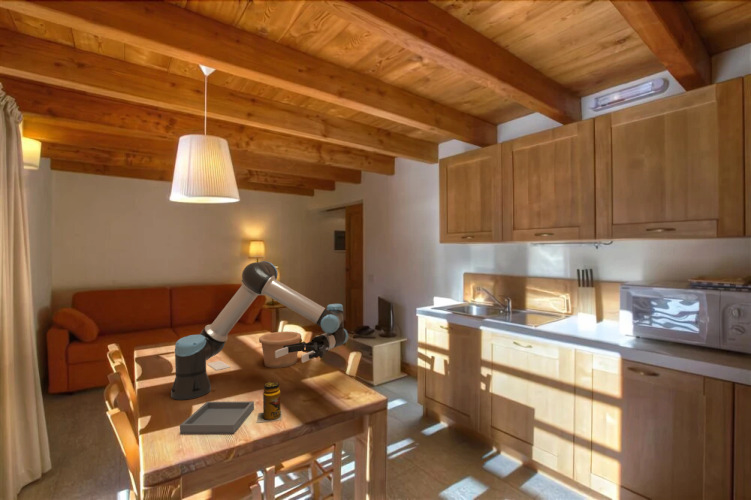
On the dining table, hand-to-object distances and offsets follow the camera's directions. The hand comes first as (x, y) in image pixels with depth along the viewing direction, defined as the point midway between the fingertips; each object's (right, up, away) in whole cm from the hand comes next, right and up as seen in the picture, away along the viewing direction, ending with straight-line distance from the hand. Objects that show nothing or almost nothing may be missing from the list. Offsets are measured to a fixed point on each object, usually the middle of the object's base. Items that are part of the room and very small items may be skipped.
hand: (288, 356), depth 137 cm
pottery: (-17, -20, +53) cm, 59 cm away
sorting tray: (-22, -20, -11) cm, 31 cm away
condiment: (-5, -20, -8) cm, 22 cm away
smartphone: (-49, -20, +50) cm, 73 cm away
